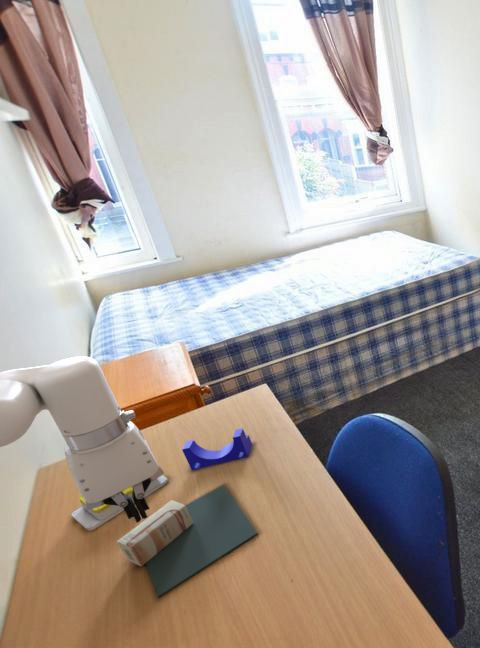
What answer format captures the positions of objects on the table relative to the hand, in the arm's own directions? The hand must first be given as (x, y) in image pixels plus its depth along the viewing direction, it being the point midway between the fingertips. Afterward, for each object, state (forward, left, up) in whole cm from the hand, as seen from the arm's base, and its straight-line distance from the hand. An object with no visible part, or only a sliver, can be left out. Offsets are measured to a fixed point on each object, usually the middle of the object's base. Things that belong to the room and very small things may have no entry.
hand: (140, 515), depth 82 cm
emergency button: (-2, +25, -10) cm, 27 cm away
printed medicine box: (-4, +1, -7) cm, 8 cm away
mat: (+6, 0, -10) cm, 11 cm away
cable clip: (+17, +21, -10) cm, 28 cm away
